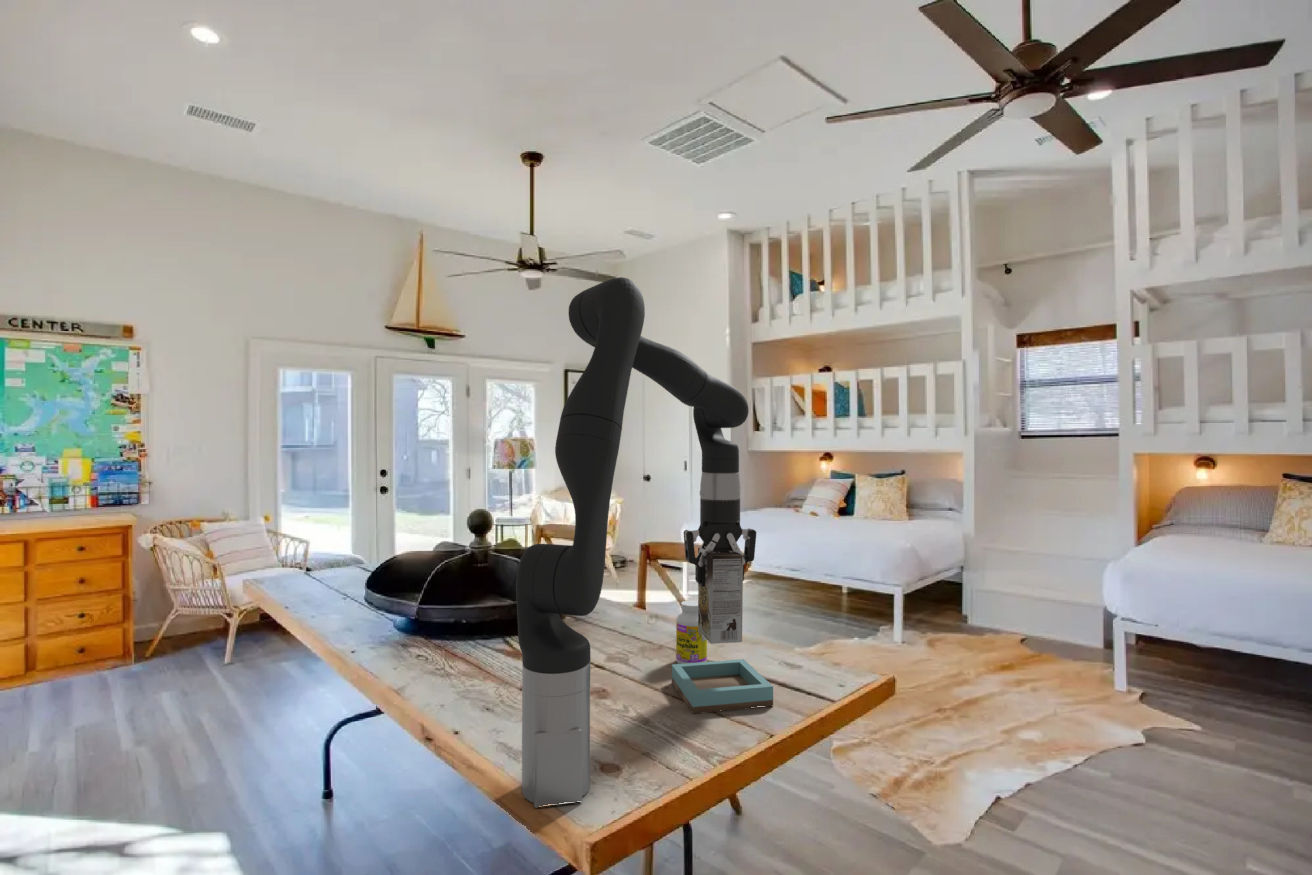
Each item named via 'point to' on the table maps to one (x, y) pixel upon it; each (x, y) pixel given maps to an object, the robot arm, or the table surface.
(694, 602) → the supplement bottle
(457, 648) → the table surface
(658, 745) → the table surface
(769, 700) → the teal square tray
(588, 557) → the robot arm
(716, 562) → the coffee box
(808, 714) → the table surface
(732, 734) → the table surface
